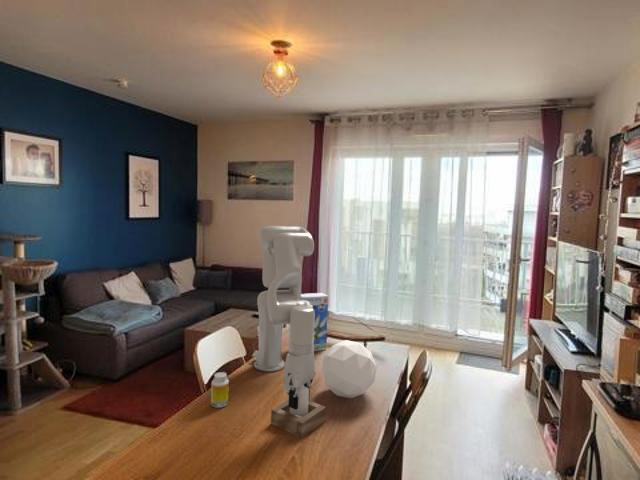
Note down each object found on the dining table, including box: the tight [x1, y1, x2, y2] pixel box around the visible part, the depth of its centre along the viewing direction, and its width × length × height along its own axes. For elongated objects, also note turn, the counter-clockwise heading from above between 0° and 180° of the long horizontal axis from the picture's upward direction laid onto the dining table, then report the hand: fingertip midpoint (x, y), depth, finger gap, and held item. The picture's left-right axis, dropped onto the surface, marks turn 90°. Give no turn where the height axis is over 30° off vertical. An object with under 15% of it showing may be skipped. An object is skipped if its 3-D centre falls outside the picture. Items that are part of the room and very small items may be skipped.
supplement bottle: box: [210, 371, 230, 409], centre depth 132 cm, size 6×6×10 cm
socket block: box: [270, 399, 327, 439], centre depth 123 cm, size 12×12×4 cm
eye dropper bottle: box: [290, 384, 310, 415], centre depth 123 cm, size 4×6×12 cm
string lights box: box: [300, 292, 329, 352], centre depth 186 cm, size 13×8×26 cm, turn 115°
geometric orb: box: [321, 339, 377, 399], centre depth 143 cm, size 19×20×20 cm
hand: (299, 403), depth 123 cm, fingers closed on eye dropper bottle, 5 cm apart
